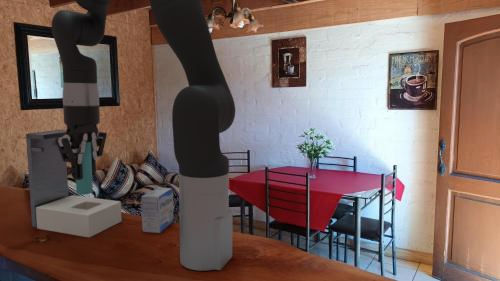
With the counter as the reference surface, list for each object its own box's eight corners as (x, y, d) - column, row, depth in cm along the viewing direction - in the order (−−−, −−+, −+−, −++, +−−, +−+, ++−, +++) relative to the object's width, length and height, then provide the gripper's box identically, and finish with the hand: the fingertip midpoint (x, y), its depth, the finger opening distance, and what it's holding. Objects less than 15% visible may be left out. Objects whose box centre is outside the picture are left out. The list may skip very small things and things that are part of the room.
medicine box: (159, 234, 85) (159, 196, 84) (141, 232, 86) (140, 195, 85) (173, 222, 93) (173, 188, 92) (156, 220, 94) (156, 186, 92)
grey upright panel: (81, 216, 96) (77, 130, 93) (49, 229, 87) (43, 134, 84) (65, 213, 98) (61, 129, 95) (32, 226, 88) (25, 133, 85)
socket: (121, 221, 93) (120, 201, 92) (89, 237, 82) (88, 215, 82) (73, 213, 98) (72, 195, 97) (37, 228, 87) (35, 207, 87)
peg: (96, 191, 89) (94, 141, 88) (85, 195, 86) (83, 143, 84) (84, 189, 90) (82, 140, 89) (73, 193, 87) (70, 142, 85)
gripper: (70, 105, 78) (73, 186, 80) (115, 103, 91) (117, 172, 93) (42, 103, 80) (46, 182, 82) (90, 102, 93) (93, 170, 96)
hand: (84, 177), depth 88 cm, fingers closed on peg, 3 cm apart
